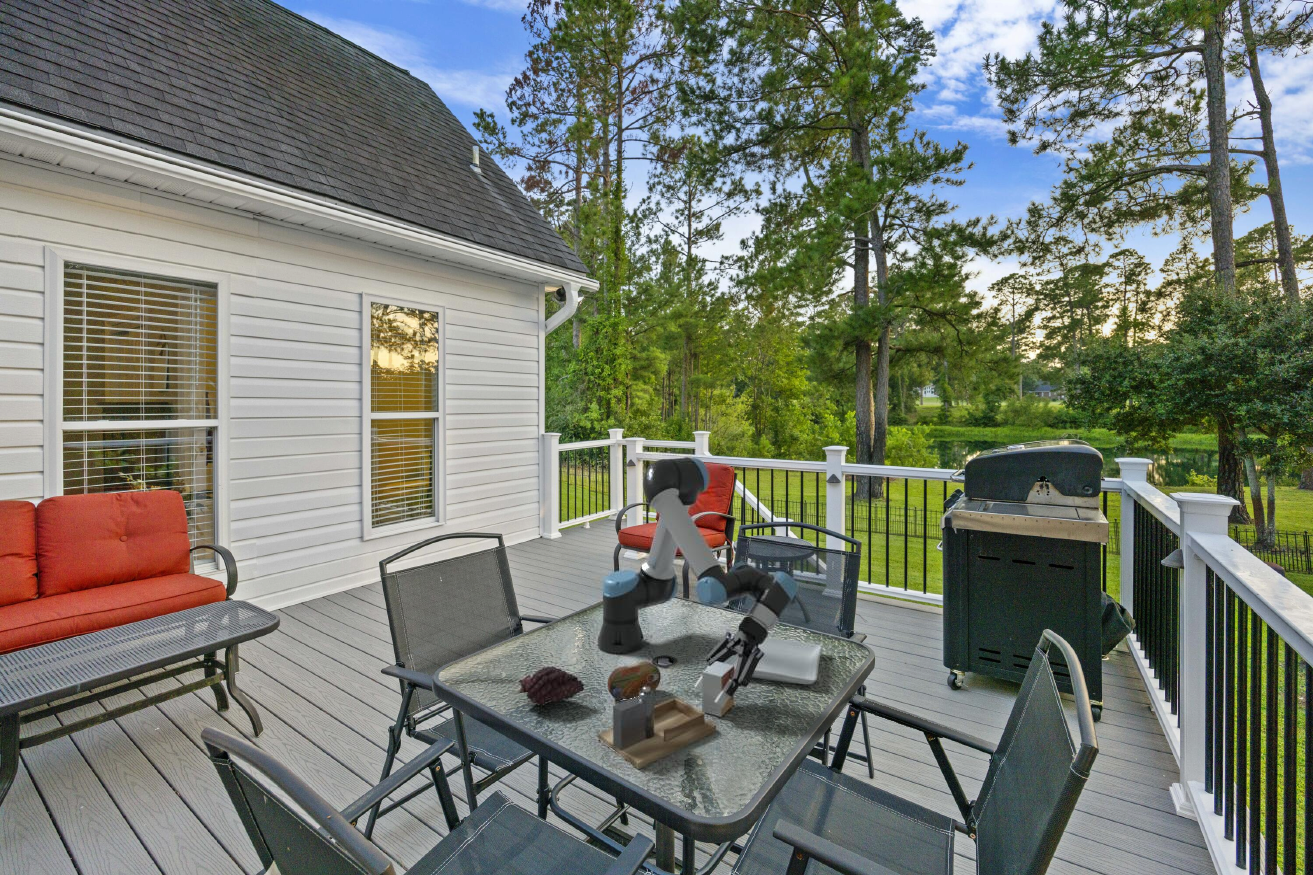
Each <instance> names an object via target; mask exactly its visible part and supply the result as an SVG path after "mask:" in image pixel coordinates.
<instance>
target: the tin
mask: <svg viewBox="0 0 1313 875" xmlns="http://www.w3.org/2000/svg"><path fill="white" fill-rule="evenodd" d="M660 682H661V672H660V669H659V667H658V666H657V665H655V664H653V663H652V662H649V661H640V662H637V663H633V664H627V665H624V666H619V667H616V668H615V669H614V670H613V671H611V673H610V675H609V676H608V679H607V686H606V687H607V691H608V692H609V694H610V696H612V698H613V699H615V700H616V701H618V702H621V701H620V700H623V699H629V700H630V698H634V697H637V696H639V691H640V690H643V687H644V686H650V690H653V691H654V692H655V691H656V690H657V689H658V687H659V685H660Z"/></svg>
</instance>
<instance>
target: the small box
mask: <svg viewBox="0 0 1313 875" xmlns="http://www.w3.org/2000/svg"><path fill="white" fill-rule="evenodd" d="M701 673H702V693H701V712H703V713H705V714H709V715H713V716H716V717H719V718H722V717H723V716H724V714H726V712H728V711H729V709H731V708H732V707H733V706H734V704H735V701H734V700H735V693H734V694H733V696H732V697H730V698H729V699H728V701H727V702H726V704H725V705H724V707H723V708H721V707H720V706H719V705H718V704H717V703H716V702H714V701H715V700H716V698H717V697H718V695H719V694H720V692H721V691H722V689H723V688H724V687H725V685H726V684H727V682H728V681H729V679H730V680H731V678H733V676H734V666H733V665H730V664H726V663H722V662H718V661H715V662H714V663H713V664H712V665H711V666H710V667H708V668H707V669H706V670H705V671H704V670H703V671H702V672H701ZM731 681H732V680H731Z"/></svg>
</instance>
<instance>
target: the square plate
mask: <svg viewBox="0 0 1313 875" xmlns="http://www.w3.org/2000/svg"><path fill="white" fill-rule="evenodd" d="M731 648H732V647H731ZM758 648H759V649H760V650H761V651H762V652H763V653H764V656H763V657H762V658H761V659H760V660H759V662H758V664H757V667H756V669H755V671H754V673H753V675H752V677H751V678H755V679H762V680H768V681H776V682H781V683H782V682H783V683H789V684H800V685H801V684H802V685H812V684H814V683H815V682H817V679H818V672H819V664H820V659H821V658H820V657H821V654H822V650H823V646H822V645H821V644H816V643H809V642H802V641H796V640H795V641H794V640H790V639H788V640H787V639H781V638H774V637H768V636H767V637H766V639H765V640H764V642H763V643H762V644H759V645H758ZM751 654H752V653H751ZM738 658H739V656H738V654H736V655H733V656H731V657H730V658H729V659H727V660H726V661H725V662H724V663H726V664H730V665H733V666H734V673H735V669H736V665H737V662H738Z"/></svg>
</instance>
